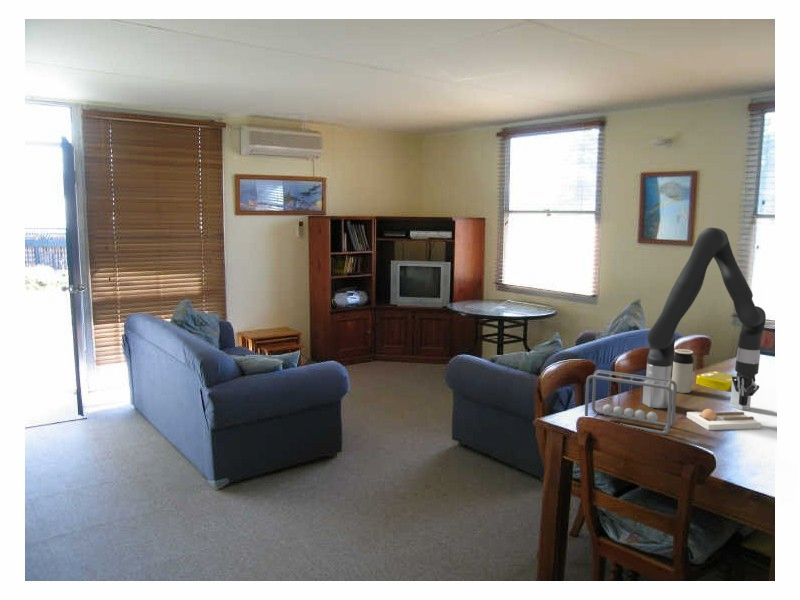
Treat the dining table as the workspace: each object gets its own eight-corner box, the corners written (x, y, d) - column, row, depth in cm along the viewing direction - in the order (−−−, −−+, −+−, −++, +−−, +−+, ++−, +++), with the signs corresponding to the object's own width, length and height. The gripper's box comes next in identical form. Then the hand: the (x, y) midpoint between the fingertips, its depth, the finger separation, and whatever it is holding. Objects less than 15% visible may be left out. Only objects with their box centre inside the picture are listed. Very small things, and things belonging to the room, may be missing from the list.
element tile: (726, 392, 268) (727, 381, 267) (694, 384, 280) (694, 374, 279) (744, 387, 276) (745, 376, 275) (711, 379, 288) (712, 369, 288)
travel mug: (692, 394, 263) (695, 353, 261) (672, 392, 266) (674, 352, 263) (689, 389, 271) (692, 349, 268) (670, 387, 273) (673, 348, 271)
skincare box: (750, 409, 244) (752, 380, 242) (741, 410, 242) (744, 381, 241) (737, 404, 249) (740, 376, 248) (729, 405, 248) (732, 377, 246)
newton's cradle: (674, 427, 223) (677, 380, 221) (669, 436, 215) (672, 387, 212) (591, 412, 240) (594, 368, 237) (584, 420, 231) (586, 374, 228)
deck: (708, 430, 220) (708, 422, 220) (686, 417, 234) (687, 410, 234) (760, 428, 222) (760, 420, 222) (735, 415, 236) (736, 408, 236)
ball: (707, 406, 226) (720, 411, 226) (701, 406, 231) (715, 412, 230) (702, 419, 226) (716, 424, 225) (697, 419, 230) (710, 424, 230)
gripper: (727, 355, 232) (722, 399, 234) (749, 364, 219) (744, 411, 221) (745, 355, 232) (740, 399, 235) (769, 364, 219) (764, 410, 222)
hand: (742, 405), depth 228 cm, fingers closed
